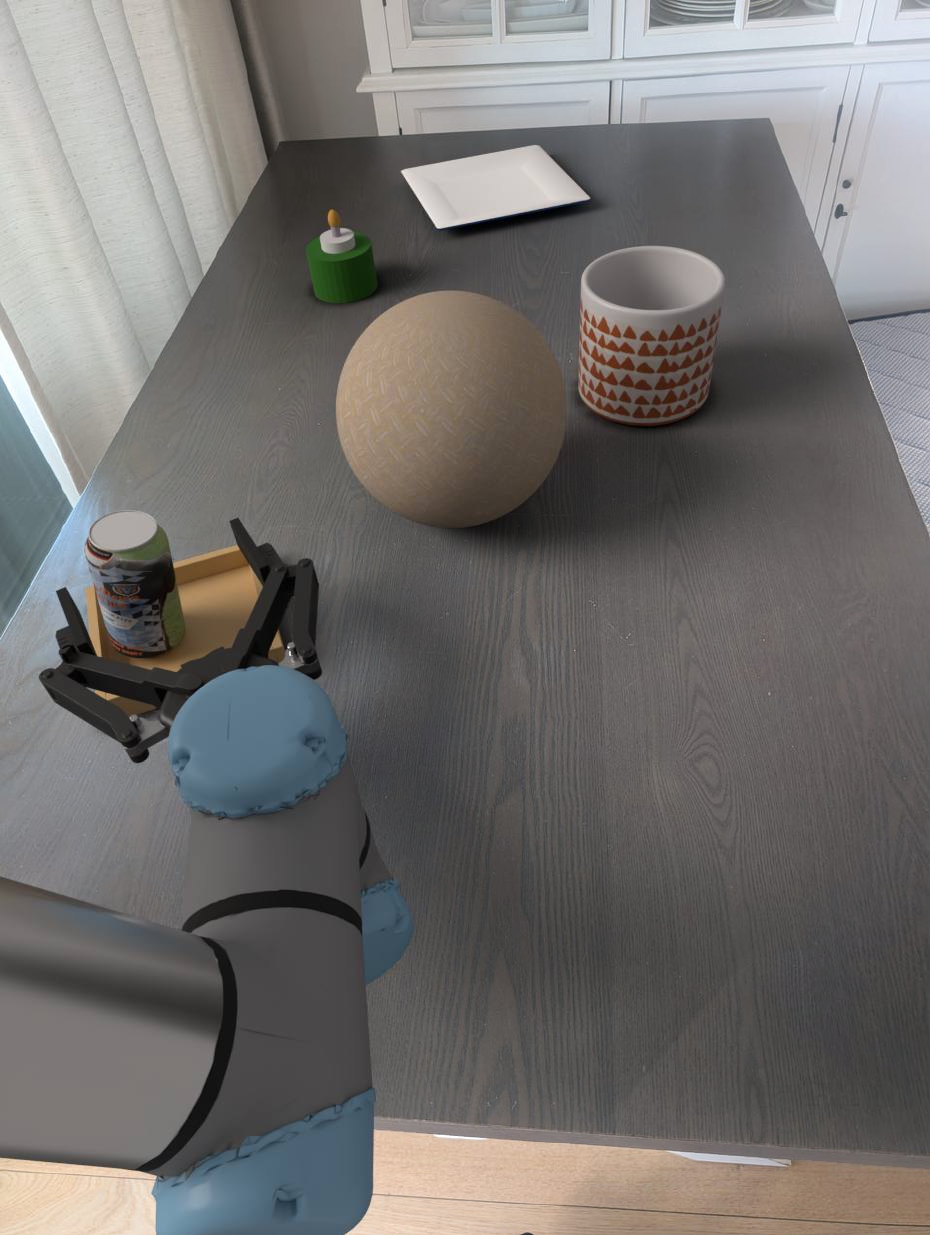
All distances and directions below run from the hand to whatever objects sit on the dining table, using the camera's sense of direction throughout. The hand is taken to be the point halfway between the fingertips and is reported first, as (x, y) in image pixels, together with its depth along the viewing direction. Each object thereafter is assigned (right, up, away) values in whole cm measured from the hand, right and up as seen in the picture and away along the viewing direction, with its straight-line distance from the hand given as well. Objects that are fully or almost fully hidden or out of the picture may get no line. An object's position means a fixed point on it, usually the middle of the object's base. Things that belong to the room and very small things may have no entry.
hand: (155, 565), depth 69 cm
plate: (+28, +58, +64) cm, 91 cm away
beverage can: (-2, -6, +6) cm, 9 cm away
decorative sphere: (+23, +7, +16) cm, 29 cm away
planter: (+43, +20, +27) cm, 54 cm away
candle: (+8, +39, +47) cm, 62 cm away
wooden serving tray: (+1, -6, +7) cm, 9 cm away
